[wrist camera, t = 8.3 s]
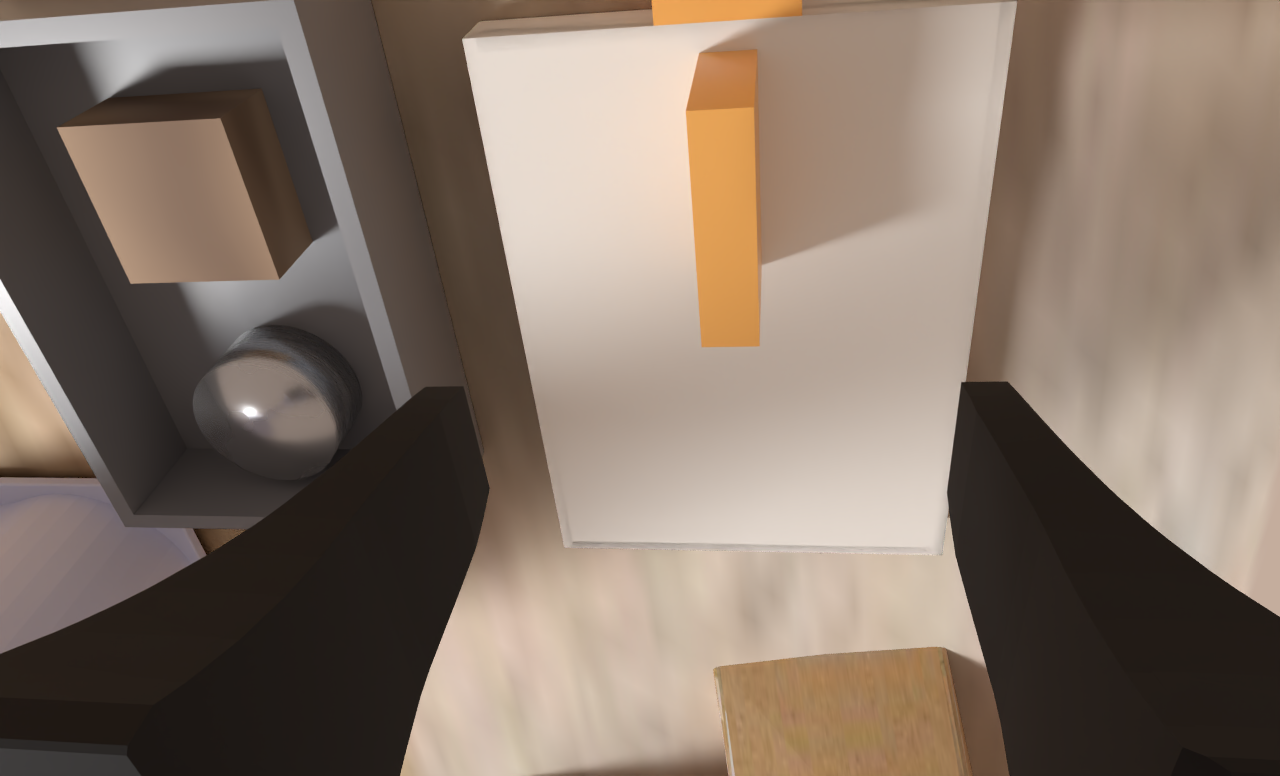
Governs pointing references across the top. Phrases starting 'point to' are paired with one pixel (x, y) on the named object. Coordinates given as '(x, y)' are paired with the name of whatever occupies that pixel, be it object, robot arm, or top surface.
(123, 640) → the robot arm
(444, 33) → the top surface
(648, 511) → the lid
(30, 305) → the tub
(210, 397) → the domed metal puck
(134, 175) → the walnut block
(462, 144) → the top surface
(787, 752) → the sandwich container
